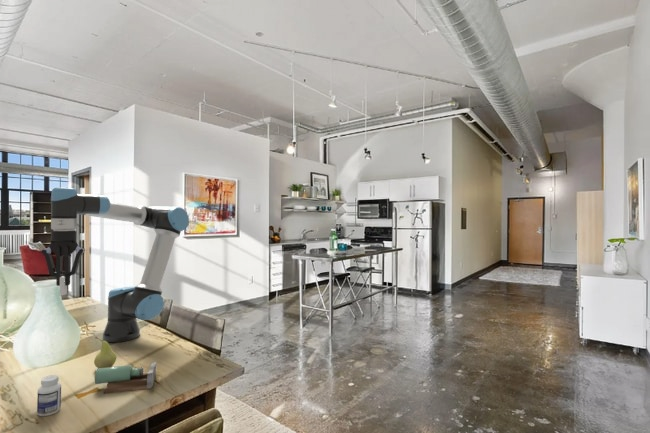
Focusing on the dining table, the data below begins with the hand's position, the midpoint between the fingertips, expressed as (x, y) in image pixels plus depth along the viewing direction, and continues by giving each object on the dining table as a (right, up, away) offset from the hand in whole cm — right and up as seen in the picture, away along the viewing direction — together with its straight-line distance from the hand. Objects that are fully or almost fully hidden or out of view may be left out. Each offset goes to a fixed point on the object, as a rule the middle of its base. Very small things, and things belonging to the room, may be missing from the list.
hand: (63, 294), depth 127 cm
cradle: (+30, -29, -9) cm, 42 cm away
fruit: (+13, -29, +3) cm, 32 cm away
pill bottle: (+16, -28, -26) cm, 42 cm away
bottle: (+20, -25, -12) cm, 34 cm away
